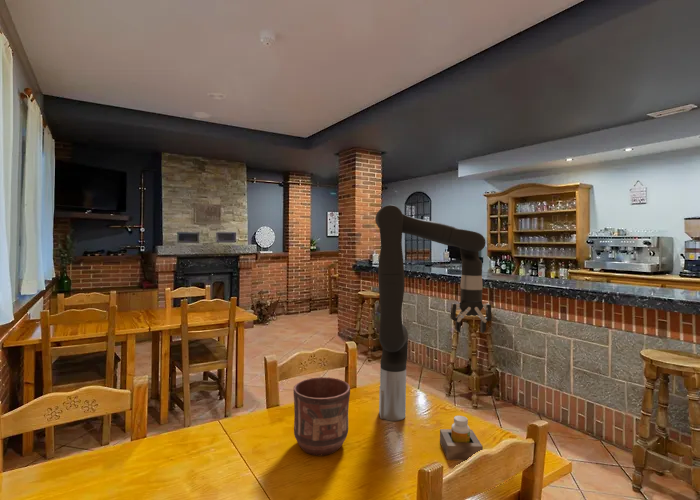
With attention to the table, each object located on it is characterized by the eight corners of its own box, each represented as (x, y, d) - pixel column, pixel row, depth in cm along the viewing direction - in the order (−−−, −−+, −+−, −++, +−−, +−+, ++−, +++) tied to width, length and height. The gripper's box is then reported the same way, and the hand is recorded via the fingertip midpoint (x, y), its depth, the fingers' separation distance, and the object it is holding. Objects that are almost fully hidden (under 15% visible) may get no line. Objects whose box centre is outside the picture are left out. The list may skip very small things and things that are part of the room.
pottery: (362, 444, 120) (362, 386, 120) (319, 468, 107) (320, 403, 107) (322, 426, 132) (323, 373, 132) (280, 445, 119) (280, 386, 119)
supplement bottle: (470, 456, 114) (471, 423, 114) (451, 453, 116) (452, 421, 115) (468, 446, 120) (469, 415, 119) (450, 444, 121) (451, 413, 121)
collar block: (447, 459, 112) (447, 445, 112) (439, 441, 122) (440, 429, 122) (482, 460, 112) (482, 446, 112) (471, 442, 122) (472, 429, 122)
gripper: (454, 288, 138) (453, 334, 138) (494, 289, 138) (493, 335, 138) (449, 286, 145) (448, 329, 145) (487, 286, 145) (486, 330, 145)
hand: (470, 332), depth 142 cm, fingers open, 8 cm apart
